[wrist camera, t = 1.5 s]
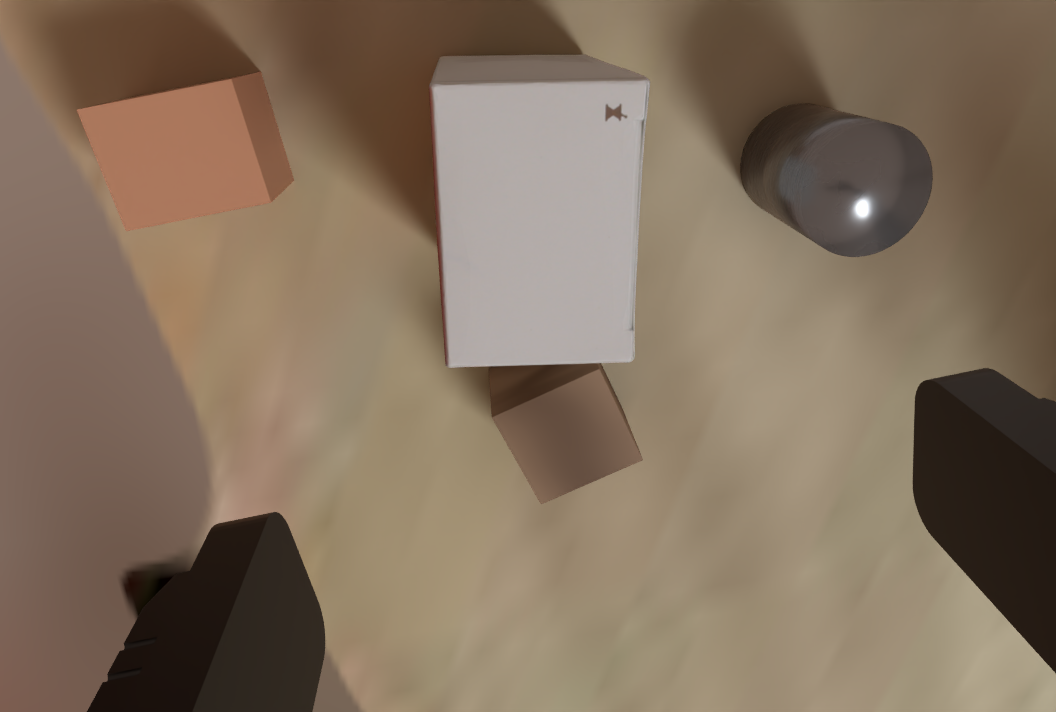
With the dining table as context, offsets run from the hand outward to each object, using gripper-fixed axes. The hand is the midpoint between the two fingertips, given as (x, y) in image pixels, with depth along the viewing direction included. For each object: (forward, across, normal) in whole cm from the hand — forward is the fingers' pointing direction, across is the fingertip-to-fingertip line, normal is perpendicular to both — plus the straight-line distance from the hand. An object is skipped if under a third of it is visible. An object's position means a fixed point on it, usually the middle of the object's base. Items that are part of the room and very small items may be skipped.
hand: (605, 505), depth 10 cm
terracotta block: (+22, +11, -4) cm, 25 cm away
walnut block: (+22, 0, +10) cm, 24 cm away
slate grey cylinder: (+22, -11, +2) cm, 25 cm away
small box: (+22, 0, 0) cm, 22 cm away
